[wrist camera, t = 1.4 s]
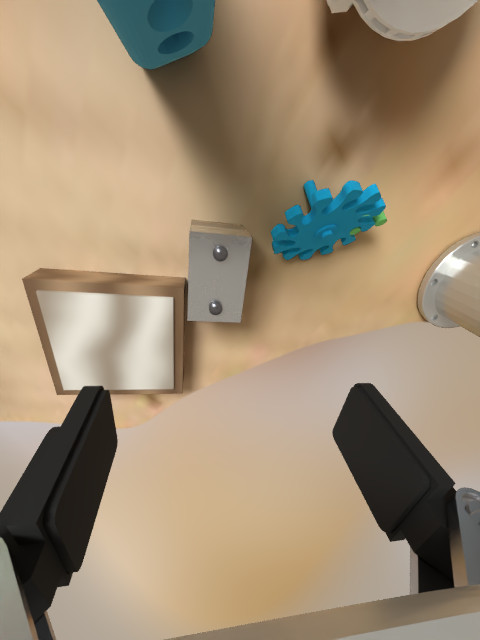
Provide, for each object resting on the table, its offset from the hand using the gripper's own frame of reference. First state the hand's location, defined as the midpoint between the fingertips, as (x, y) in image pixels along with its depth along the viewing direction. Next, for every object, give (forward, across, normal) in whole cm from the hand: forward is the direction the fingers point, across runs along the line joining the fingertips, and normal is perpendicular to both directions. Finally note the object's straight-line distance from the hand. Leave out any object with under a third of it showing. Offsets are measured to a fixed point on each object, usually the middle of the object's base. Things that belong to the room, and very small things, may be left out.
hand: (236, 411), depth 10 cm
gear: (+20, -10, -5) cm, 23 cm away
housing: (+20, 0, 0) cm, 20 cm away
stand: (+20, +10, +9) cm, 24 cm away
